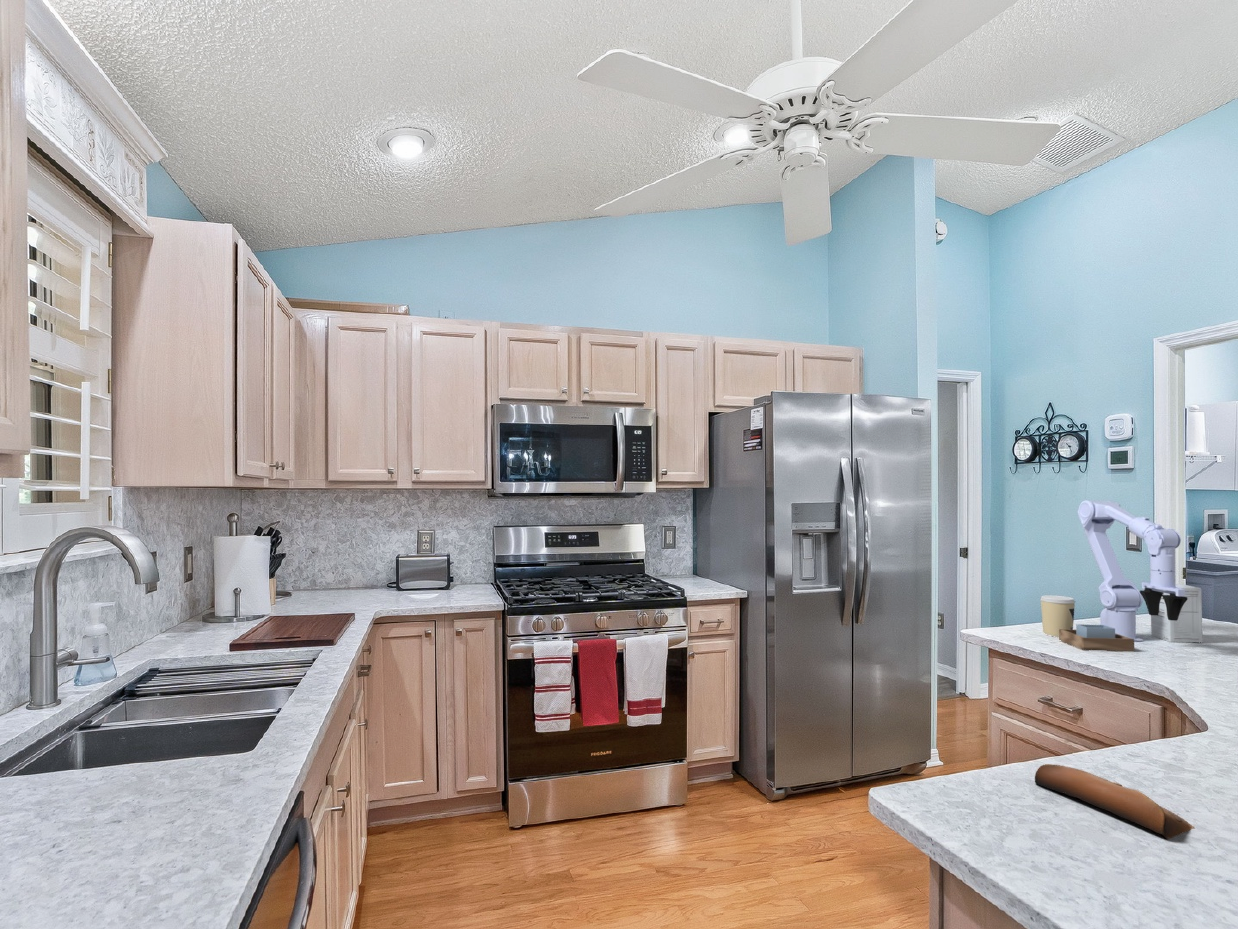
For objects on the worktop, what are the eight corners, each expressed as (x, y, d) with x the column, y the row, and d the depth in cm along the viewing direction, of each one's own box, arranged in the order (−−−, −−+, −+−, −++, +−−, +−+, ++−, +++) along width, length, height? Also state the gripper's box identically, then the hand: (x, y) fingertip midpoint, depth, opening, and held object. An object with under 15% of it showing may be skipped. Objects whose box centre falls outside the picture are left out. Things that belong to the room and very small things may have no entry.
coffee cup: (1079, 640, 210) (1079, 600, 210) (1044, 637, 213) (1044, 598, 213) (1070, 633, 219) (1070, 596, 219) (1036, 631, 222) (1036, 594, 222)
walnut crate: (1059, 640, 208) (1059, 629, 208) (1107, 642, 207) (1107, 630, 207) (1083, 650, 196) (1083, 638, 196) (1134, 651, 195) (1134, 639, 195)
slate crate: (1076, 641, 205) (1076, 624, 205) (1104, 641, 204) (1103, 625, 204) (1086, 645, 200) (1086, 627, 200) (1115, 645, 199) (1115, 628, 199)
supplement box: (1182, 636, 217) (1181, 583, 217) (1203, 643, 208) (1203, 587, 208) (1149, 635, 218) (1149, 582, 218) (1170, 642, 209) (1169, 586, 209)
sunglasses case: (1201, 827, 93) (1186, 789, 92) (1176, 864, 91) (1160, 825, 89) (1067, 775, 110) (1053, 742, 108) (1043, 805, 107) (1028, 772, 106)
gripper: (1131, 567, 206) (1131, 612, 205) (1166, 573, 191) (1167, 622, 191) (1155, 567, 205) (1156, 613, 205) (1193, 574, 191) (1193, 623, 191)
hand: (1163, 617), depth 198 cm, fingers open, 7 cm apart
